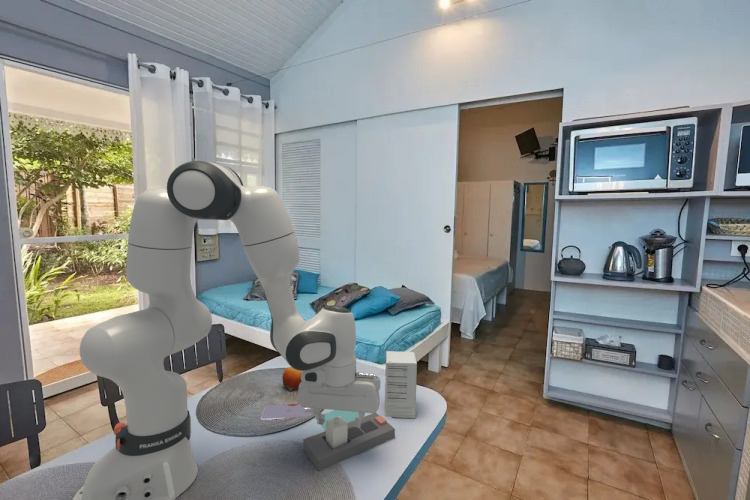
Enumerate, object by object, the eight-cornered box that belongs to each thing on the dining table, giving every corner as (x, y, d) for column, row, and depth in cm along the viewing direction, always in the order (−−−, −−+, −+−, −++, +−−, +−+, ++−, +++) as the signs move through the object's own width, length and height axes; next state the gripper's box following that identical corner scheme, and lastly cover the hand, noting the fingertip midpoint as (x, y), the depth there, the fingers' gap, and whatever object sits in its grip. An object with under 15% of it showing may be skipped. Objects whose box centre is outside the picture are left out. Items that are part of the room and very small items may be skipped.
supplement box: (416, 419, 100) (417, 363, 99) (384, 418, 100) (385, 362, 99) (413, 401, 110) (414, 351, 108) (384, 400, 110) (385, 350, 108)
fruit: (272, 385, 116) (282, 362, 118) (288, 389, 121) (297, 366, 124) (288, 393, 111) (298, 368, 114) (304, 396, 117) (312, 372, 120)
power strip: (318, 472, 78) (318, 457, 78) (303, 450, 86) (303, 436, 85) (394, 439, 91) (394, 425, 90) (375, 422, 98) (375, 409, 98)
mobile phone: (264, 404, 105) (314, 402, 107) (265, 407, 106) (314, 405, 107) (259, 418, 98) (312, 416, 100) (259, 421, 98) (312, 419, 100)
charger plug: (333, 456, 83) (333, 425, 82) (325, 447, 87) (325, 417, 86) (347, 450, 85) (347, 419, 85) (339, 441, 89) (339, 412, 88)
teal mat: (328, 435, 92) (328, 433, 92) (314, 418, 99) (314, 416, 99) (365, 421, 99) (366, 419, 99) (350, 406, 106) (350, 404, 106)
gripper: (382, 368, 85) (382, 421, 86) (304, 363, 89) (305, 414, 90) (378, 380, 79) (378, 436, 80) (294, 374, 82) (295, 428, 83)
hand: (339, 424), depth 85 cm, fingers open, 8 cm apart
